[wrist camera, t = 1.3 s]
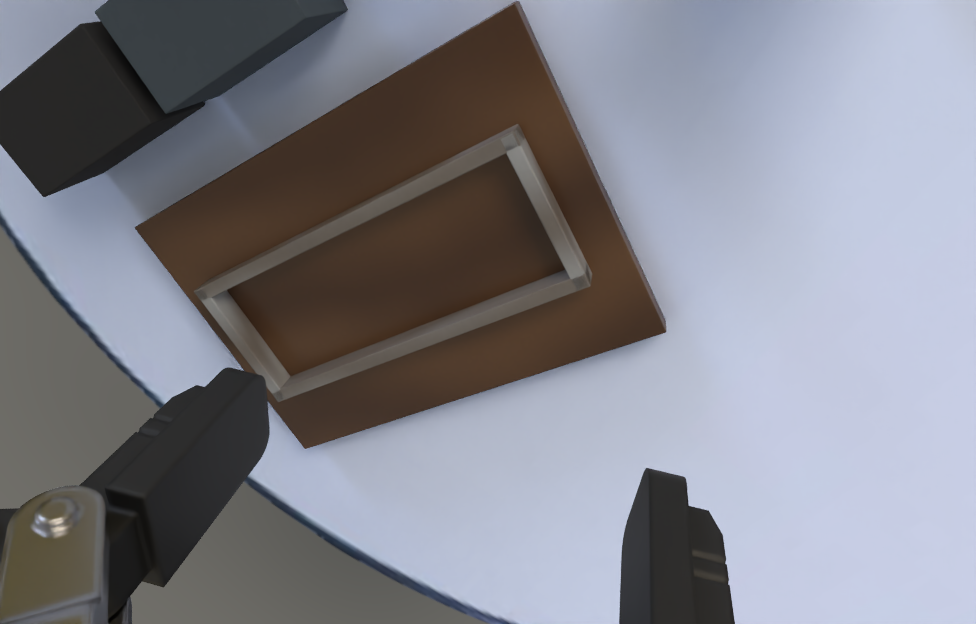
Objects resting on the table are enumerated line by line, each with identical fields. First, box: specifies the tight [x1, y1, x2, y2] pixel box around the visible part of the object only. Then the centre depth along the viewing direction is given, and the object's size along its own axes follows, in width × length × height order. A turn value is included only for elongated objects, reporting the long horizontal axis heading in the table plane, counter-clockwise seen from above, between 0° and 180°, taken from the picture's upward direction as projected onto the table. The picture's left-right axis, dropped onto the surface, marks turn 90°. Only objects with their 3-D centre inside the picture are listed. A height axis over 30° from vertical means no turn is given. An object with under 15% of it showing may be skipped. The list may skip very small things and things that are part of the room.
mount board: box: [135, 1, 666, 449], centre depth 36 cm, size 18×26×3 cm
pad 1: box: [0, 21, 205, 197], centre depth 33 cm, size 5×9×4 cm, turn 118°
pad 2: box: [95, 0, 348, 114], centre depth 29 cm, size 5×9×4 cm, turn 118°
